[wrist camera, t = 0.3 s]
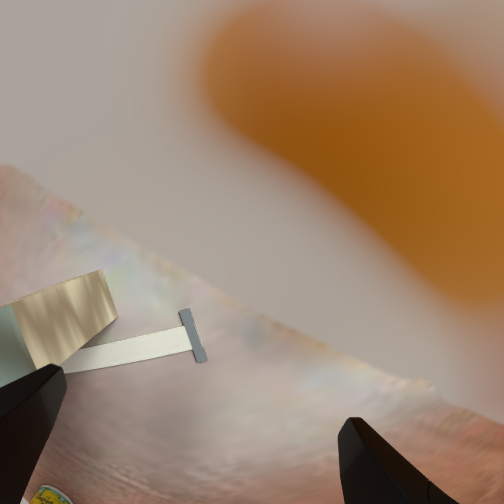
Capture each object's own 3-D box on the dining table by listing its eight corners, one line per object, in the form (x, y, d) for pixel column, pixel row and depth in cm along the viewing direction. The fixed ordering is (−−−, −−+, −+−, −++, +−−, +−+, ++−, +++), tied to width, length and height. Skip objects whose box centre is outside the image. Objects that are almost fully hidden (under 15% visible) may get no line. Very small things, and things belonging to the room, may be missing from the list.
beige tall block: (118, 316, 23) (36, 385, 11) (80, 326, 23) (-7, 388, 11) (102, 268, 23) (3, 306, 11) (64, 281, 23) (-35, 320, 11)
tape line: (189, 308, 23) (189, 309, 23) (207, 359, 24) (207, 360, 23) (37, 344, 23) (36, 345, 23) (56, 385, 24) (54, 386, 23)
